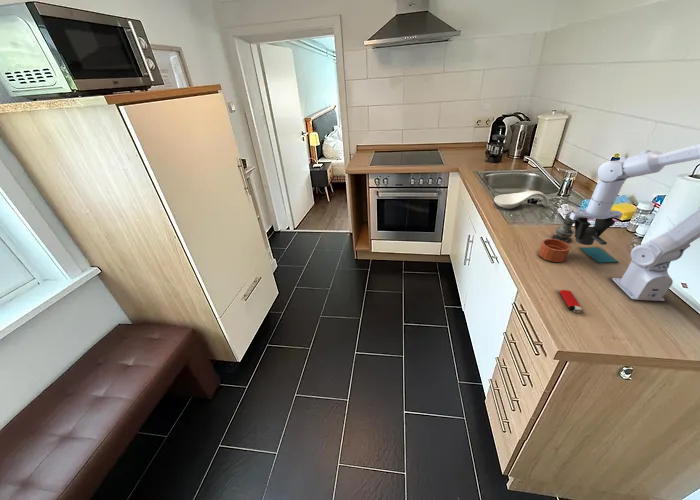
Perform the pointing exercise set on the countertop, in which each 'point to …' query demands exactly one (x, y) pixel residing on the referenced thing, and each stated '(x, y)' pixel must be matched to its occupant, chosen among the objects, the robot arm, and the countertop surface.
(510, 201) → the spoon rest
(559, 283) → the countertop surface
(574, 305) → the lighter
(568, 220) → the grey tall lumpy piece
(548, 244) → the bowl
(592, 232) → the scoop
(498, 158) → the french press
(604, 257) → the cloth
